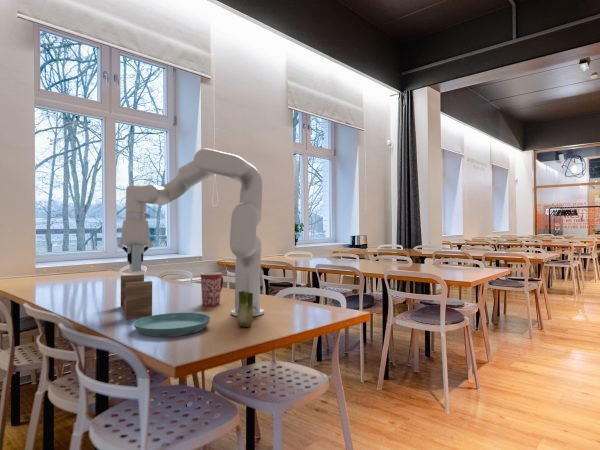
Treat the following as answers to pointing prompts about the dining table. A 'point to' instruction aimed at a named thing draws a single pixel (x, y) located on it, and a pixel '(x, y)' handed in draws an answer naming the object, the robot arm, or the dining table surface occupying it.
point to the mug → (211, 288)
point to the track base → (136, 296)
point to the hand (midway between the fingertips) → (135, 263)
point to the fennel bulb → (245, 309)
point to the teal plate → (171, 324)
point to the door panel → (136, 258)
